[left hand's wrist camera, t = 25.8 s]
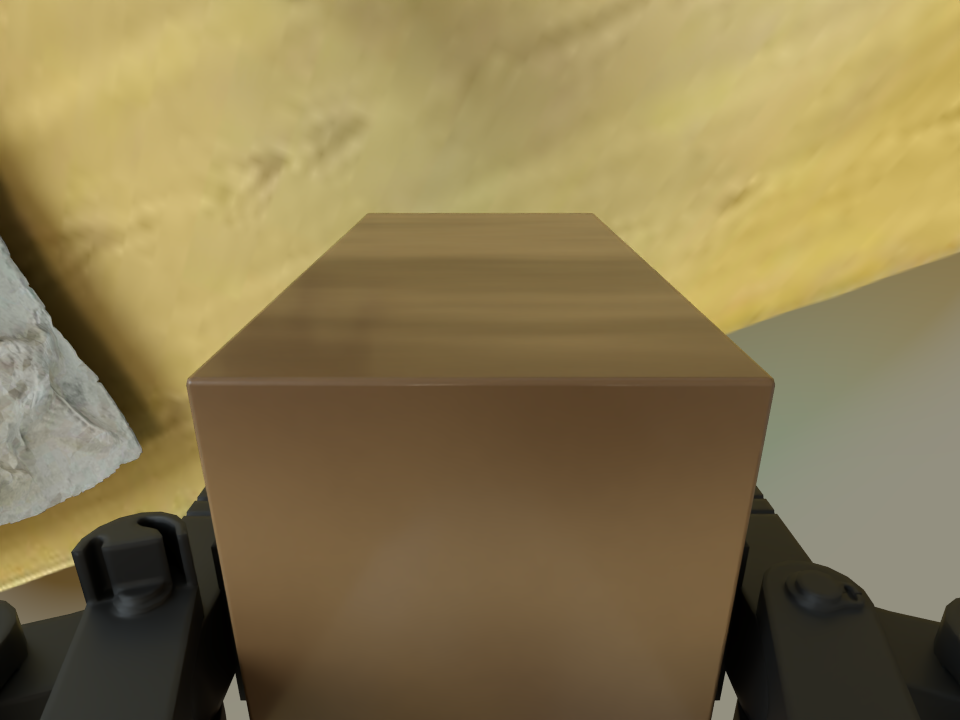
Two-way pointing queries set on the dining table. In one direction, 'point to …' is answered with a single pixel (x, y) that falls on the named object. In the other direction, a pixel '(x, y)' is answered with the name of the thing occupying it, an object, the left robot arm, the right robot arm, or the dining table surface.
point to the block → (480, 478)
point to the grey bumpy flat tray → (49, 409)
